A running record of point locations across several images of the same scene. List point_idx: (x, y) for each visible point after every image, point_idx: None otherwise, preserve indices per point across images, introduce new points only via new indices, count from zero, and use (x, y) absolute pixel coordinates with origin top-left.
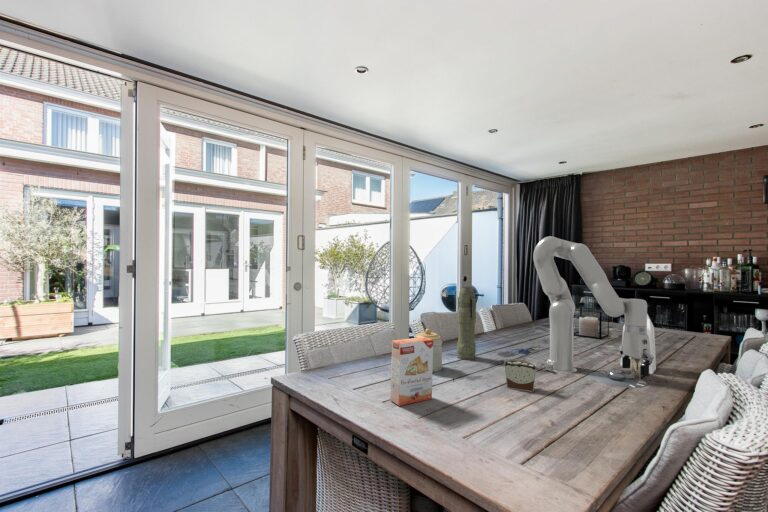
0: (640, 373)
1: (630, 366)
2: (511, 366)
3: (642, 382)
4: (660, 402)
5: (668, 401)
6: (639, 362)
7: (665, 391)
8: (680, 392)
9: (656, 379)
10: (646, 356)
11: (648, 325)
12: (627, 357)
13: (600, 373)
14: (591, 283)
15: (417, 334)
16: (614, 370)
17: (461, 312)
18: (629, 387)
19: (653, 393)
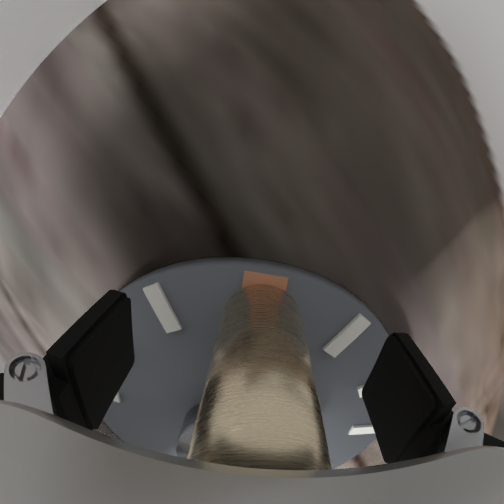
0: (368, 404)
1: (7, 79)
2: None
3: (354, 339)
4: (478, 397)
5: (494, 365)
6: (327, 448)
7: (461, 266)
8: (495, 188)
9: (241, 43)
10: (463, 502)
11: None
12: (63, 408)
13: (120, 411)
14: None
15: None
16: (188, 445)
17: None
18: (367, 443)
19: (441, 360)
